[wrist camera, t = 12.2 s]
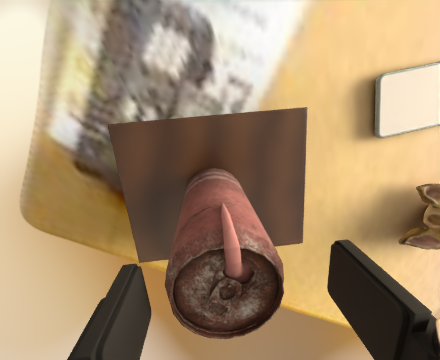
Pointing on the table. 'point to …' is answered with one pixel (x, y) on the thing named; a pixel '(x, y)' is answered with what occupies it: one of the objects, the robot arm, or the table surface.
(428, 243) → the ceramic sculpture
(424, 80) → the smartphone
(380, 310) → the robot arm
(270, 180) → the side table
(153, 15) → the table surface
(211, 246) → the can
